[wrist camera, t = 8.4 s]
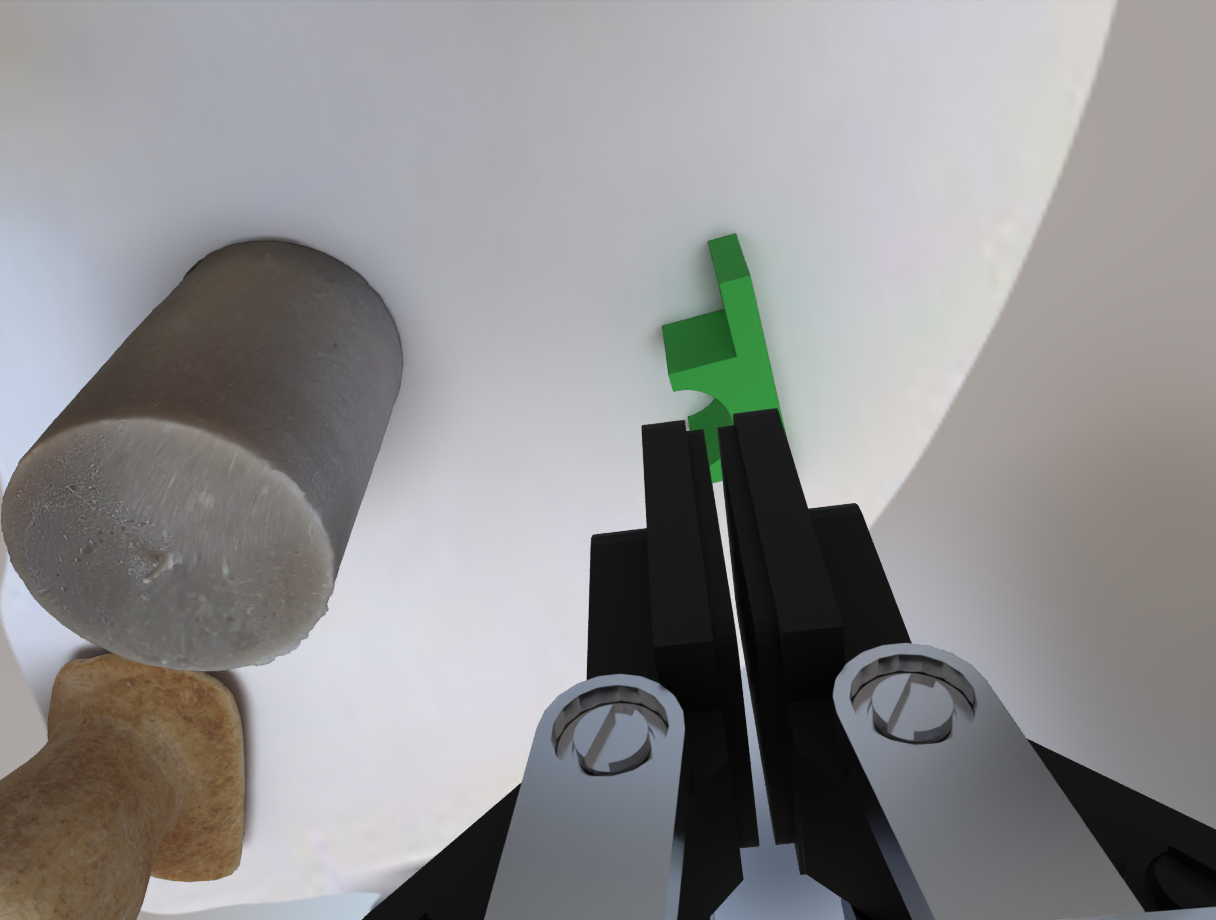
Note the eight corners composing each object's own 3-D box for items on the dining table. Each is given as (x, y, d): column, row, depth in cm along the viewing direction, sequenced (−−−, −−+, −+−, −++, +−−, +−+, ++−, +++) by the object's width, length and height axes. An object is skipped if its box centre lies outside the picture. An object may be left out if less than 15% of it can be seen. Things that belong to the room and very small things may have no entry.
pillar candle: (120, 338, 40) (-98, 574, 27) (273, 185, 36) (105, 375, 24) (304, 486, 44) (188, 750, 31) (457, 361, 41) (397, 601, 28)
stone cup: (14, 617, 48) (-196, 896, 35) (260, 655, 49) (144, 936, 37) (40, 812, 56) (-125, 1097, 43) (251, 840, 57) (152, 1123, 45)
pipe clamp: (642, 256, 38) (646, 301, 35) (735, 230, 38) (750, 273, 34) (706, 484, 44) (717, 545, 40) (788, 464, 44) (806, 524, 40)
